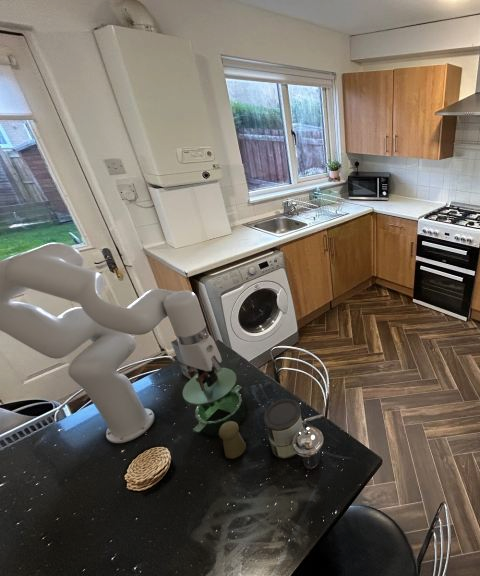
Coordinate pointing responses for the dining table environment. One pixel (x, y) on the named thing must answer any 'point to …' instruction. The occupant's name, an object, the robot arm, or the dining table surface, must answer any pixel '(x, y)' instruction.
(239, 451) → the cork
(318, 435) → the cup with straw
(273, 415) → the coffee can
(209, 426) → the pot
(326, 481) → the dining table surface
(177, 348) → the coffee box
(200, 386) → the lid
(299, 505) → the dining table surface
